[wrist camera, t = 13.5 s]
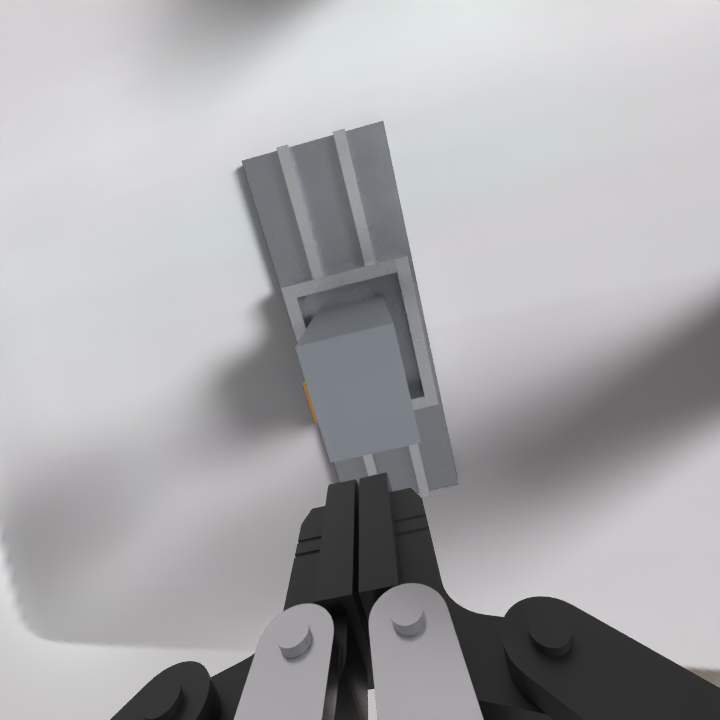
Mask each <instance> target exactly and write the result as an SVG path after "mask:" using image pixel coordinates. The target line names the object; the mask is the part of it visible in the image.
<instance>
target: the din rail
mask: <svg viewBox="0 0 720 720" xmlns="http://www.w3.org/2000/svg"><path fill="white" fill-rule="evenodd" d="M242 164H243V167H244V170H245V173H246V177H247V180H248V183H249V186H250V190H251V193H252V196H253V200H254V203H255V206H256V209H257V213H258V216H259V219H260V223H261V226H262V229H263V232H264V236H265V239H266V242H267V245H268V249H269V252H270V255H271V259H272V262H273V265H274V268H275V272H276V275H277V278H278V282H279V285H280V288H281V291H282V295H283V298H284V301H285V304H286V308H287V311H288V314H289V318H290V321H291V324H292V327H293V331H294V334H295V337H296V341H297V343H298V341H299V339H300V338H301V336H302V335H303V333H304V332H305V330H306V328H307V327H308V325H309V324H310V322H311V320H312V319H313V317H314V316H315V314H316V313H317V311H318V310H321V309H325V308H329V307H333V306H337V305H341V304H345V303H349V302H353V301H357V300H361V299H365V298H369V297H373V296H377V295H381V294H382V296H383V298H384V301H385V303H386V306H387V308H388V311H389V313H390V315H391V318H392V320H393V323H394V327H395V332H396V336H397V340H398V345H399V349H400V353H401V358H402V362H403V366H404V371H405V375H406V380H407V384H408V388H409V393H410V397H411V401H412V406H413V410H414V414H415V419H416V423H417V428H418V432H419V436H420V441H421V443H418V444H414V445H409V446H405V447H400V448H396V449H391V450H386V451H382V452H377V453H373V454H368V455H364V456H359V457H355V458H350V459H346V460H341V461H337V462H334V465H335V468H336V472H337V475H338V478H339V482H345V481H349V480H354V479H356V480H357V481H358V484H359V479H360V478H362V477H367V476H372V475H376V474H381V473H385V472H387V474H388V477H389V480H390V484H391V488H392V491H397V490H402V489H406V488H412V489H413V490H414V491H415V492H416V493H420V495H421V498H424V497H429V496H430V494H429V491H430V490H434V489H439V488H444V487H448V486H453V485H458V484H459V483H458V479H457V474H456V469H455V464H454V459H453V455H452V450H451V445H450V440H449V435H448V431H447V426H446V421H445V416H444V411H443V406H442V402H441V397H440V392H439V387H438V382H437V378H436V373H435V368H434V363H433V358H432V354H431V349H430V344H429V339H428V334H427V329H426V325H425V320H424V315H423V310H422V305H421V301H420V296H419V291H418V286H417V281H416V277H415V272H414V267H413V262H412V257H411V253H410V248H409V243H408V238H407V233H406V228H405V224H404V219H403V214H402V209H401V204H400V200H399V195H398V190H397V185H396V180H395V176H394V171H393V166H392V161H391V156H390V151H389V147H388V142H387V137H386V132H385V127H384V123H383V121H381V122H377V123H374V124H370V125H367V126H363V127H360V128H356V129H353V130H349V131H346V132H345V130H344V129H341V130H338V131H334V132H333V135H332V136H328V137H324V138H321V139H317V140H314V141H310V142H307V143H303V144H300V145H296V146H293V147H289V146H288V145H285V146H281V147H278V148H277V151H275V152H272V153H268V154H265V155H261V156H257V157H254V158H250V159H247V160H243V161H242Z"/></svg>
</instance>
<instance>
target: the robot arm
mask: <svg viewBox="0 0 720 720" xmlns="http://www.w3.org/2000/svg"><path fill="white" fill-rule="evenodd" d="M298 542H299V544H297V549H296V554H295V555H296V558H294V563H293V568H292V573H291V577H290V582H289V587H288V592H287V596H286V601H285V606H284V611H283V612H282V613H281V614H279V615H278V616H277V617H276V618H275V619H273V621H272V622H271V623H270V624H269V625H268V626H267V628H266V629H265V630H264V632H263V634H262V636H261V638H260V640H259V643H258V646H257V649H256V652H255V653H254V654H253V655H252V656H250V657H249V658H247V659H245V660H243V661H242V662H240V663H238V664H236V665H234V666H232V667H230V668H228V669H226V670H224V671H222V672H220V673H219V674H217V675H215V676H213V677H210V675H209V673H208V672H207V670H206V668H205V667H204V666H203V665H202V664H200V663H197V662H193V661H188V662H182V663H178V664H176V665H173V666H171V667H169V668H167V669H166V670H164V671H162V672H161V673H160V674H158V675H157V676H155V677H154V678H153V679H152V680H151V681H150V682H149V683H147V684H146V685H145V686H144V687H143V688H142V689H141V690H140V691H139V692H138V693H137V694H136V695H135V696H134V697H133V698H132V699H131V700H130V701H129V702H128V703H127V704H126V705H125V706H124V707H123V708H122V709H121V710H120V711H119V712H118V713H117V714H116V715H115V716H113V717H112V719H111V720H368V689H375V699H376V709H377V720H720V688H719V687H717V686H715V685H713V684H712V683H710V682H708V681H706V680H704V679H702V678H701V677H699V676H697V675H695V674H693V673H692V672H690V671H689V670H687V669H685V668H683V667H681V666H680V665H678V664H676V663H674V662H673V661H671V660H669V659H667V658H665V657H664V656H662V655H660V654H658V653H657V652H655V651H653V650H651V649H650V648H648V647H646V646H644V645H642V644H641V643H639V642H637V641H635V640H634V639H632V638H630V637H628V636H626V635H625V634H623V633H621V632H619V631H618V630H616V629H614V628H612V627H610V626H609V625H607V624H605V623H603V622H602V621H600V620H598V619H596V618H595V617H593V616H591V615H589V614H587V613H586V612H584V611H582V610H580V609H579V608H577V607H575V606H573V605H571V604H569V603H567V602H565V601H562V600H559V599H556V598H551V597H542V596H539V597H531V598H526V599H524V600H521V601H519V602H517V603H516V604H514V605H513V606H512V607H511V608H510V609H509V610H508V612H507V613H506V615H505V617H498V616H491V615H483V614H478V613H475V612H472V611H469V610H467V609H465V608H463V607H461V606H460V605H458V604H457V603H455V602H454V601H453V600H452V599H451V598H450V597H449V595H448V594H447V593H446V591H445V589H444V587H443V584H442V581H441V576H440V572H439V568H438V564H437V560H436V556H435V551H434V547H433V543H432V539H431V535H430V531H429V526H428V522H427V518H426V514H425V510H424V506H423V502H422V498H421V497H420V496H419V495H418V494H417V493H416V492H415V491H414V490H413V489H412V488H406V489H402V490H397V491H392V488H391V484H390V480H389V477H388V474H387V472H385V473H381V474H376V475H372V476H367V477H362V478H360V479H359V484H358V481H357V480H356V479H354V480H349V481H345V482H340V483H335V484H331V485H329V486H328V491H327V499H326V506H323V507H319V508H314V509H312V510H311V511H310V513H309V514H308V516H307V517H306V519H305V520H304V522H303V523H302V525H301V530H300V534H299V539H298Z"/></svg>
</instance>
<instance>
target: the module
mask: <svg viewBox="0 0 720 720" xmlns="http://www.w3.org/2000/svg"><path fill="white" fill-rule="evenodd" d="M295 350H296V353H297V356H298V359H299V363H300V366H301V369H302V372H303V376H304V379H305V381H304V383H303V387H304V390H305V394H306V397H307V400H308V403H309V407H310V410H311V413H312V416H313V420H314V422H318V425H319V428H320V431H321V434H322V438H323V441H324V444H325V448H326V451H327V454H328V457H329V461H330V463H332V462H337V461H341V460H346V459H350V458H355V457H359V456H364V455H368V454H373V453H377V452H382V451H386V450H391V449H396V448H400V447H405V446H409V445H414V444H418V443H421V441H420V436H419V432H418V428H417V423H416V419H415V414H414V410H413V406H412V401H411V397H410V393H409V388H408V384H407V380H406V375H405V371H404V366H403V362H402V358H401V353H400V349H399V345H398V340H397V336H396V332H395V327H394V323H393V320H392V318H391V315H390V313H389V311H388V308H387V306H386V303H385V301H384V298H383V296H382V294H381V295H377V296H373V297H369V298H365V299H361V300H357V301H353V302H349V303H345V304H341V305H337V306H333V307H329V308H325V309H321V310H318V311H317V313H316V314H315V316H314V317H313V319H312V320H311V322H310V324H309V325H308V327H307V328H306V330H305V332H304V333H303V335H302V336H301V338H300V339H299V341H298V343H297V344H296V346H295Z"/></svg>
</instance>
